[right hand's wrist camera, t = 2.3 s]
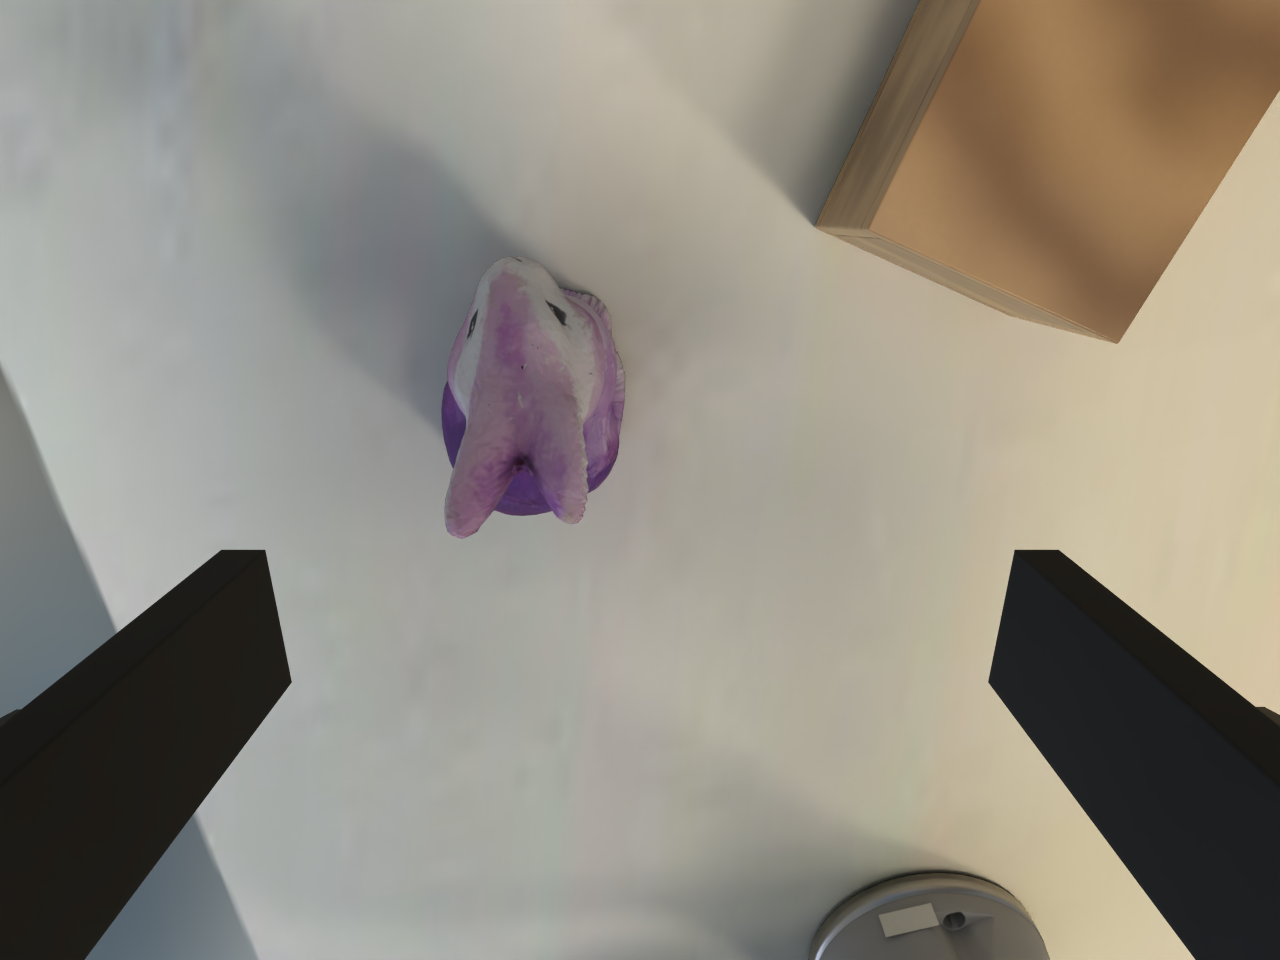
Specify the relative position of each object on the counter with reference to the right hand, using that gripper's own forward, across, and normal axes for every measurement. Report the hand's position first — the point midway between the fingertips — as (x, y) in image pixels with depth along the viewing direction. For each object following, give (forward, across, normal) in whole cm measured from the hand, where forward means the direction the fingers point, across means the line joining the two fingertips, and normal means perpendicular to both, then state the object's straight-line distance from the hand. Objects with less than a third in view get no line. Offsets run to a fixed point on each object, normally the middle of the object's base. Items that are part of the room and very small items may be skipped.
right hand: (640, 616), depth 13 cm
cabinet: (+23, -17, -14) cm, 32 cm away
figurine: (+23, +5, +1) cm, 24 cm away
